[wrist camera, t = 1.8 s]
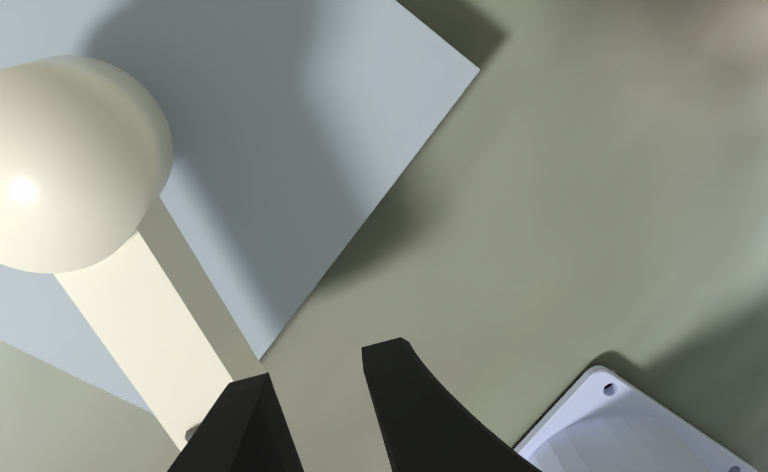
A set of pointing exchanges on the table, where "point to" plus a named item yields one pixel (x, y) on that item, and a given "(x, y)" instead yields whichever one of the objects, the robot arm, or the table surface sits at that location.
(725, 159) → the table surface
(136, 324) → the cream knobbed bar
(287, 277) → the board
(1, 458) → the table surface
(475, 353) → the table surface
